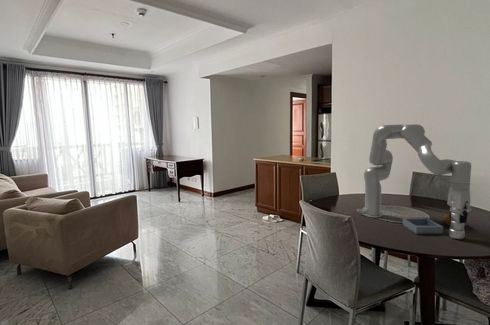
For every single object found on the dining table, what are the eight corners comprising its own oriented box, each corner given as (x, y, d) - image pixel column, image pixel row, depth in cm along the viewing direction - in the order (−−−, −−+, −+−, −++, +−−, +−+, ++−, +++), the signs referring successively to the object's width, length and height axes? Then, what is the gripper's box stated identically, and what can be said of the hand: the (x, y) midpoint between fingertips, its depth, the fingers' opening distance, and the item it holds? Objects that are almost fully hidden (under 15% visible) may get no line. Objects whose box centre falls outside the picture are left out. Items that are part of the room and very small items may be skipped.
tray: (416, 234, 153) (416, 227, 152) (402, 225, 166) (402, 218, 166) (442, 233, 152) (443, 226, 152) (426, 224, 166) (427, 218, 166)
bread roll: (441, 220, 172) (441, 208, 171) (460, 222, 169) (461, 209, 168) (447, 228, 160) (448, 214, 159) (468, 230, 157) (469, 216, 156)
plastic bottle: (457, 235, 150) (460, 198, 147) (467, 240, 143) (470, 201, 140) (445, 235, 149) (447, 198, 147) (455, 241, 143) (458, 202, 140)
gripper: (441, 182, 151) (439, 215, 154) (465, 189, 134) (462, 226, 136) (455, 182, 151) (453, 214, 153) (481, 189, 134) (478, 226, 136)
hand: (457, 220), depth 145 cm, fingers closed on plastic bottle, 6 cm apart
